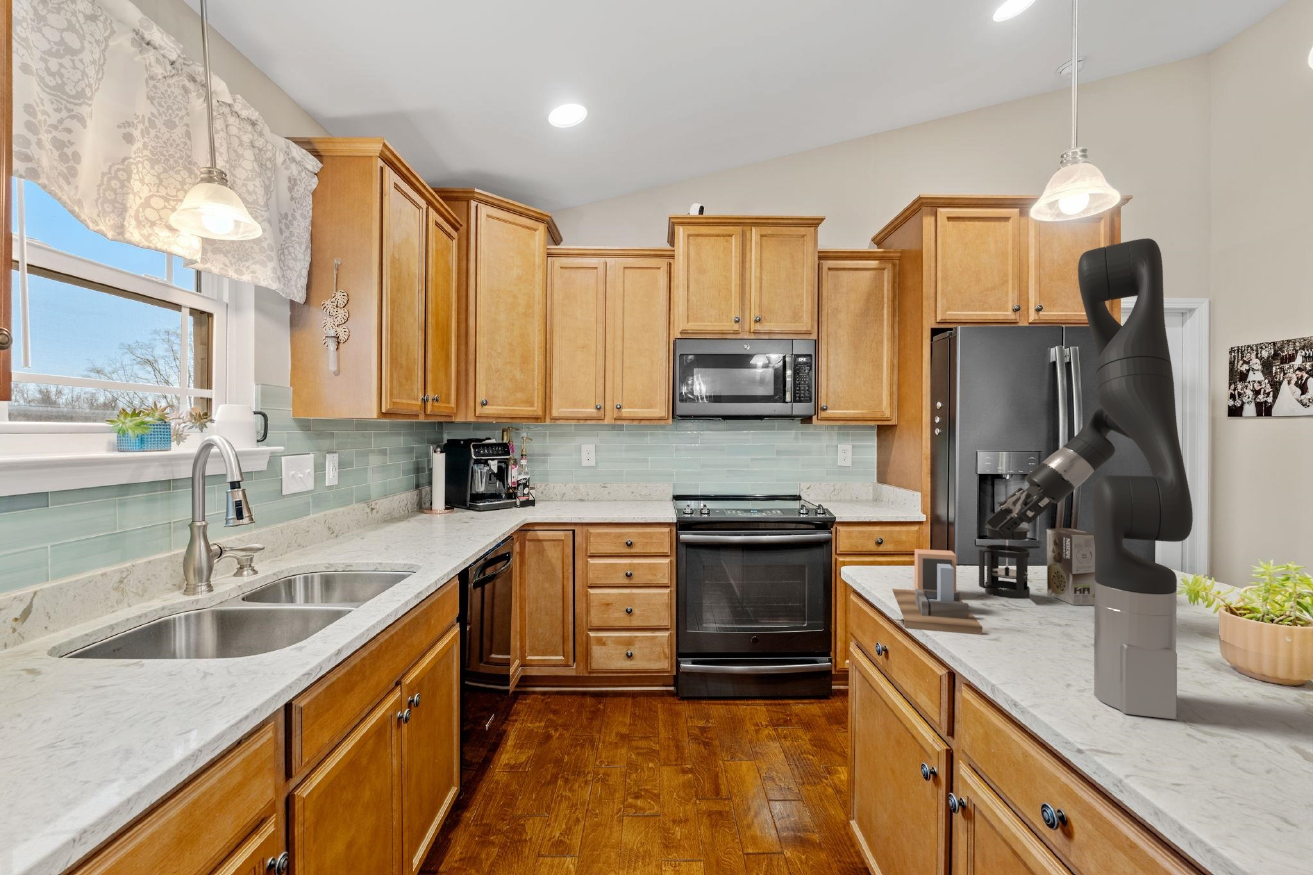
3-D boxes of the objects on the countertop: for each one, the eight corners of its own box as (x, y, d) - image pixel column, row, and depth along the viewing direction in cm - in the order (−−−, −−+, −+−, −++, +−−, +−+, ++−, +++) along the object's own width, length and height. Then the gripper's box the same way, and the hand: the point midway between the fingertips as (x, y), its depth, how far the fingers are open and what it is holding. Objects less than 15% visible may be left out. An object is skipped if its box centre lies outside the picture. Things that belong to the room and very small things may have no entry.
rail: (982, 634, 112) (982, 611, 112) (904, 627, 116) (904, 605, 116) (955, 599, 135) (955, 580, 135) (891, 594, 139) (891, 576, 139)
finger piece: (963, 615, 119) (963, 569, 119) (931, 612, 121) (931, 567, 121) (958, 608, 124) (958, 564, 124) (927, 605, 125) (927, 562, 125)
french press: (1014, 593, 140) (1015, 498, 140) (1043, 604, 131) (1043, 503, 130) (968, 594, 139) (968, 499, 139) (994, 606, 130) (994, 504, 129)
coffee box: (1100, 605, 130) (1101, 534, 130) (1072, 605, 130) (1072, 534, 130) (1072, 593, 139) (1072, 527, 139) (1045, 594, 139) (1045, 527, 139)
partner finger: (956, 600, 129) (956, 555, 129) (918, 597, 132) (918, 553, 132) (951, 593, 135) (951, 550, 135) (914, 590, 137) (914, 549, 137)
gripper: (1032, 459, 123) (972, 511, 127) (1057, 463, 110) (990, 521, 113) (1060, 485, 122) (999, 536, 125) (1090, 492, 108) (1021, 549, 112)
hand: (995, 529), depth 119 cm, fingers open, 8 cm apart
